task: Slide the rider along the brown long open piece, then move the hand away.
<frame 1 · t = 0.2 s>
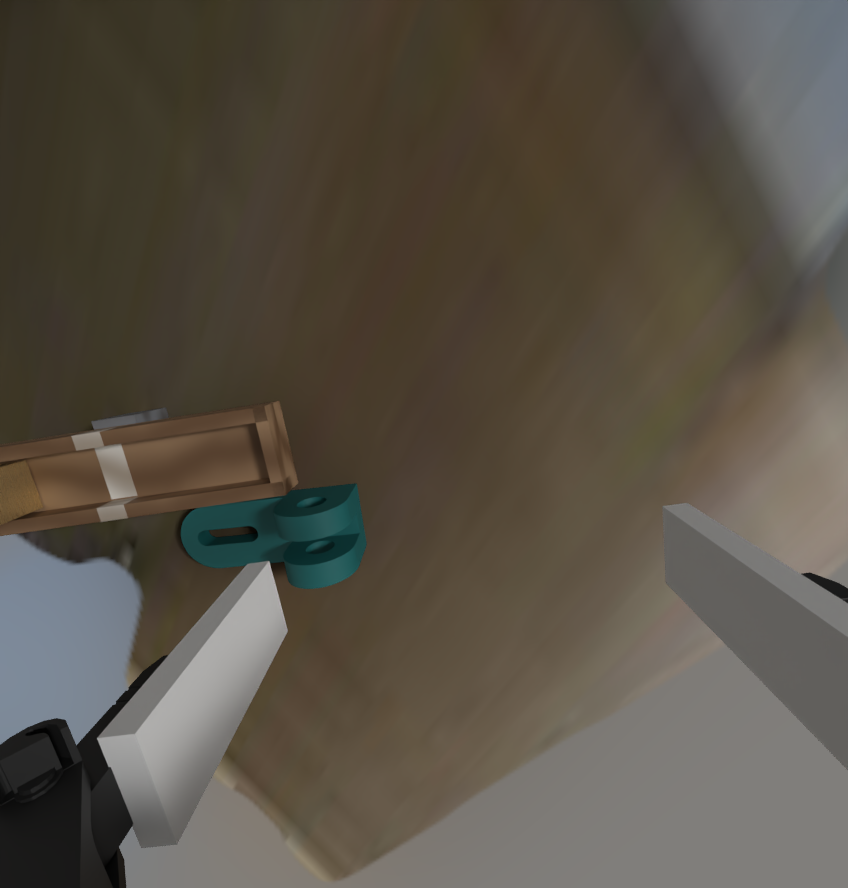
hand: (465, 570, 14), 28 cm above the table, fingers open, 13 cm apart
brown long open piece: (159, 454, 43), on the table
bracket: (277, 521, 45), on the table
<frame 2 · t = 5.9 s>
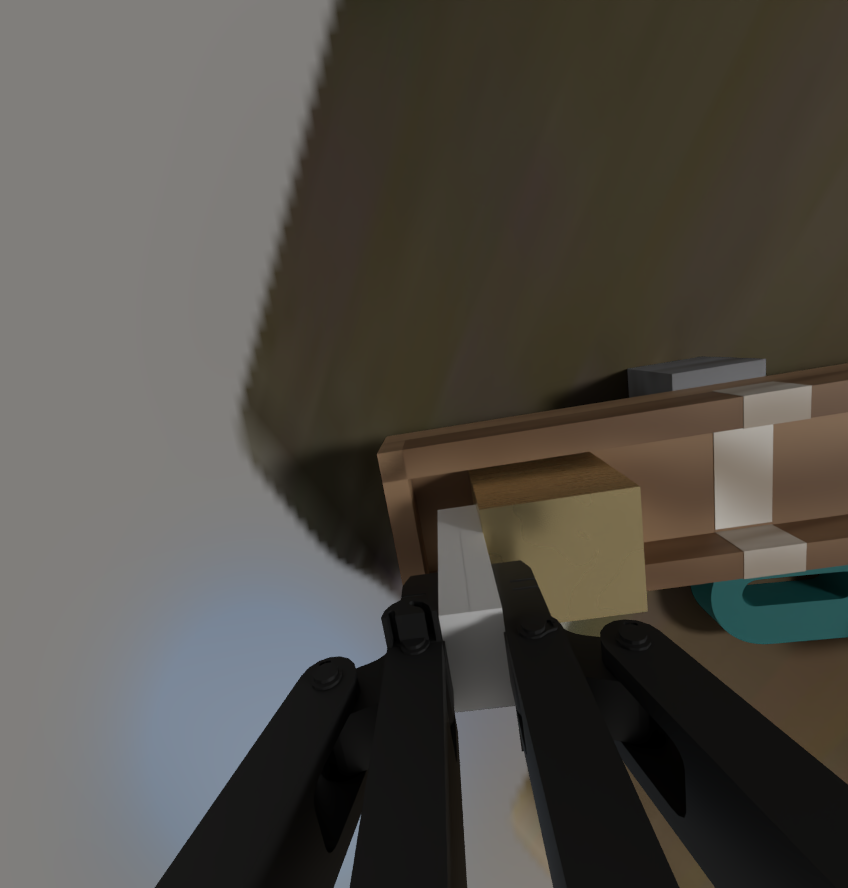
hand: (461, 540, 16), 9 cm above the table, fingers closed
rider: (545, 529, 16), point 9 cm above the table, slide at 1.0 cm, touching gripper
brown long open piece: (668, 442, 24), on the table
bracket: (838, 559, 26), on the table
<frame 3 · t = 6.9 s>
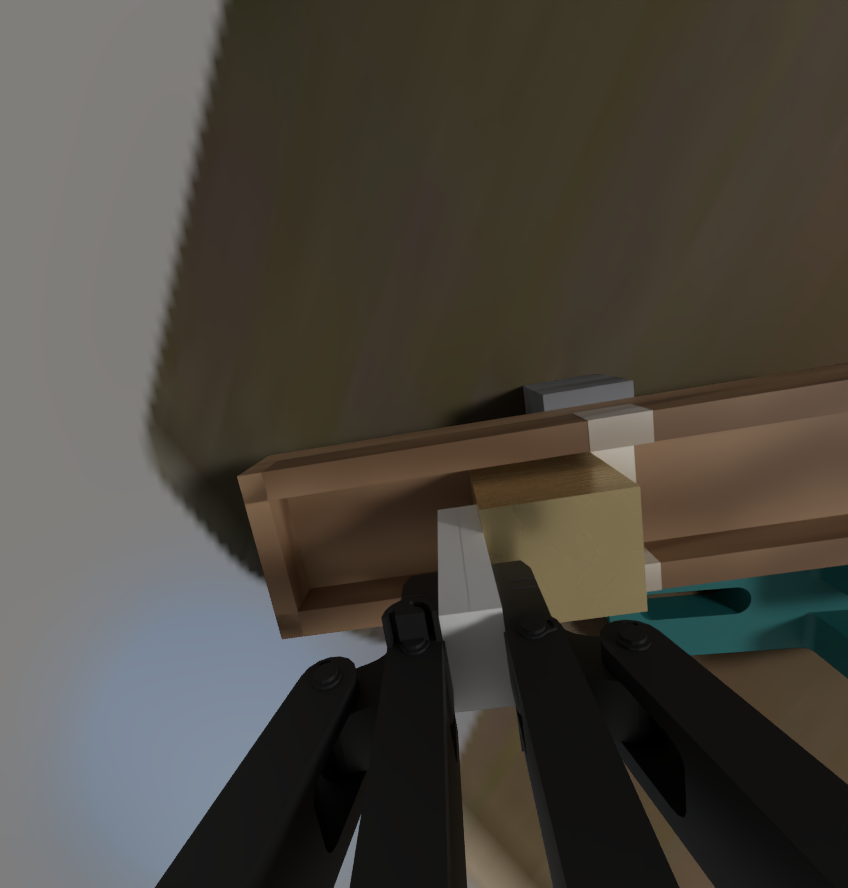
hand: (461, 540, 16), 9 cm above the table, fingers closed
rider: (545, 529, 16), point 9 cm above the table, slide at 6.7 cm, touching gripper
brown long open piece: (566, 458, 24), on the table
bracket: (741, 574, 26), on the table
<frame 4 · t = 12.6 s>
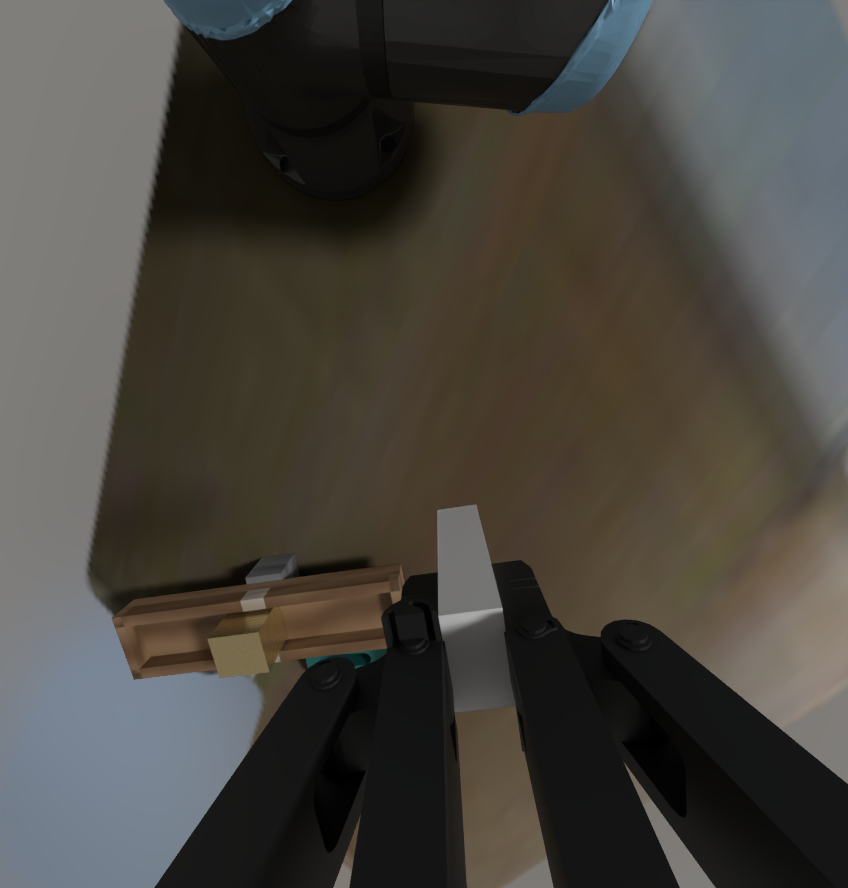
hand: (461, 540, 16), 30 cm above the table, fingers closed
rider: (249, 637, 43), point 9 cm above the table, slide at 9.2 cm
brown long open piece: (286, 589, 51), on the table
bracket: (382, 644, 53), on the table
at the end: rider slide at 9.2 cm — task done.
